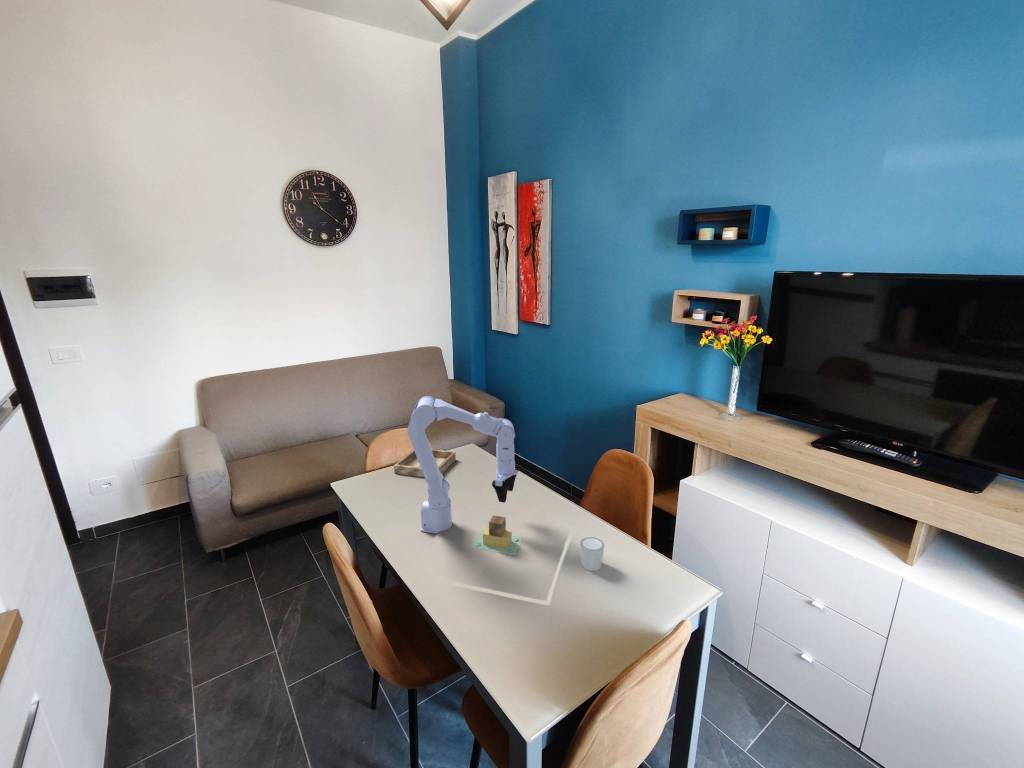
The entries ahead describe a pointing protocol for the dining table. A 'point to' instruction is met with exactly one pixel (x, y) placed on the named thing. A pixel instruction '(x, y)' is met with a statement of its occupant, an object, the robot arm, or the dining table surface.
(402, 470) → the tan wooden shallow tray
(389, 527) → the dining table surface
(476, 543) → the plate
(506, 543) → the ochre brick
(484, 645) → the dining table surface
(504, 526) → the walnut block
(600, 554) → the shot glass
